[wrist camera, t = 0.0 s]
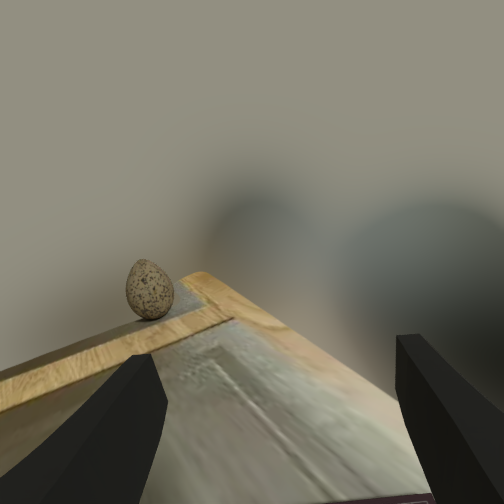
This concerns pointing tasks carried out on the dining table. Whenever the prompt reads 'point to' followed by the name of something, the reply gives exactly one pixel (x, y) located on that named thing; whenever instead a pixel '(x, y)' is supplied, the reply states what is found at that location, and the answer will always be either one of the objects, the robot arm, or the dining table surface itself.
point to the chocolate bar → (396, 500)
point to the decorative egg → (149, 290)
